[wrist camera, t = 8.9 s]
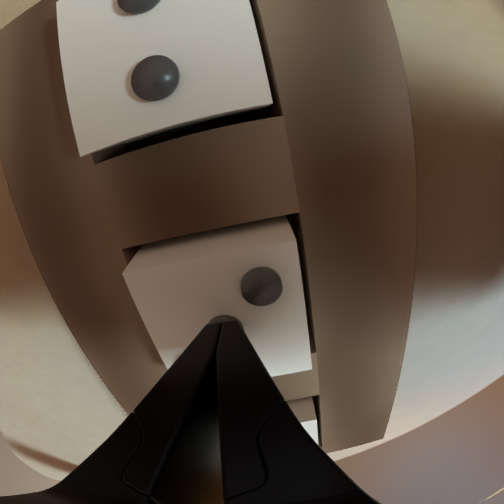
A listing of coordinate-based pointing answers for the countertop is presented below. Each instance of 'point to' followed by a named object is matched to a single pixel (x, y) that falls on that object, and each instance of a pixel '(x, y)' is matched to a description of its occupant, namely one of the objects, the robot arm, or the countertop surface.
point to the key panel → (237, 201)
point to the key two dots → (156, 66)
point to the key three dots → (225, 290)
